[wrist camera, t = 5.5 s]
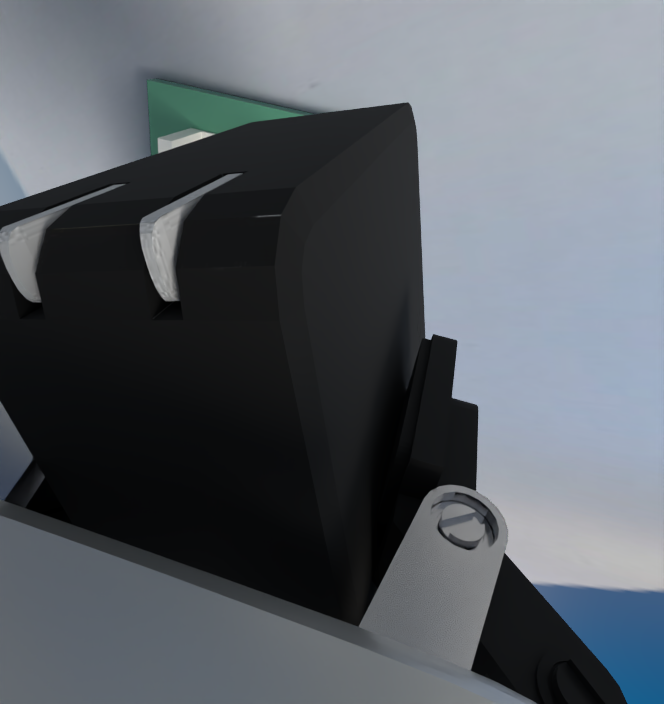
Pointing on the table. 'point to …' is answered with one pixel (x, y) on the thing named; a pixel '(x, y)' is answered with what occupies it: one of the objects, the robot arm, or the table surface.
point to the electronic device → (225, 347)
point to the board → (200, 113)
